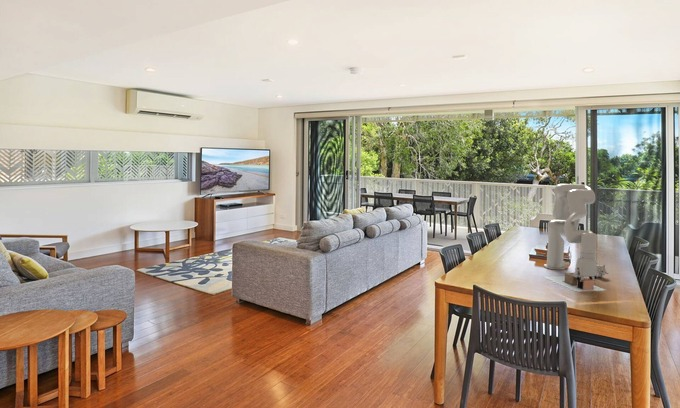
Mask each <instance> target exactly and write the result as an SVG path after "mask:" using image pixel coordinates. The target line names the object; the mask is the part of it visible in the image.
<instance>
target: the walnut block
mask: <svg viewBox="0 0 680 408" xmlns="http://www.w3.org/2000/svg"><path fill="white" fill-rule="evenodd" d="M574 273H575V272H564V276H565V280H564V282H567V283H569V284H572V285H577V279H576V278H575V277H574V276H573V274H574ZM577 276H578V275H577ZM580 278H581V277H580Z"/></svg>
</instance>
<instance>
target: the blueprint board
mask: <svg viewBox="0 0 680 408" xmlns="http://www.w3.org/2000/svg"><path fill="white" fill-rule="evenodd" d="M543 278H544V279H547V280H550V281H551V282H554V283H556V284H558V285H561V286H563V287H566V288H568V289H570V290H572V291H574V292H599V291H600V292H601V291H606V289H605V288H602V287H599V286H597V285H595V284H594V289H592V290H584V289H580V288H578V287H577V285H572V284H569V283H567V282H564V280H565V275H563V276H562V275H560V276H543Z"/></svg>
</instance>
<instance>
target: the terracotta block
mask: <svg viewBox="0 0 680 408" xmlns="http://www.w3.org/2000/svg"><path fill="white" fill-rule="evenodd" d="M582 282H583V289H584V290H592V289H594V285H595V281H594V280H592V279H589V277H584V278H583V281H582ZM577 287H578V281H577Z"/></svg>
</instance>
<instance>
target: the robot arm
mask: <svg viewBox="0 0 680 408" xmlns="http://www.w3.org/2000/svg"><path fill="white" fill-rule="evenodd" d="M554 196H555V199H554V204H553V211H552V217H553V218H554V219H551V220H549V221H548V222H547V251H546V253H547V254H546V263H544V264H543V267H544V268H546V269H550V270H554V271H555V270H556V271H557V270H566V266H570V265H571V263H570V261H565V260H564V254H565V240H566V242H567V243H570V244H580V247H579V256H578V257H577V260H576V264H575V269H574V272H573V273H574V274H573V276H574V277H575V278H576V279H577V281H578V288H580V289H583V282H582V281H583V278H589V279H592V280H594V282H596V279H597V278H598V276H599V273H598V272H597V264H598V261H597V256H598V253H597V246H598V244H597V243H598V235H597V234H596V233H594V232H593V231H592V230H587V229H585V230H583V229H579V227H580V226H579V225H580V222H581V219H582V218H585V217H586V216H587V215H588V210H587V207H586V206H587V205H591V204H594V203H595V202H596V194H595V192H594V190H593V189H592V188H591V187H589V186H588V185H586V184H583V183H581V184H580V183H577V184H575V183H558V184H556V185H555V187H554ZM562 236H564V237H565V240H564V239H563V237H562ZM577 275H578V276H577ZM580 277H581V278H580Z"/></svg>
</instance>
